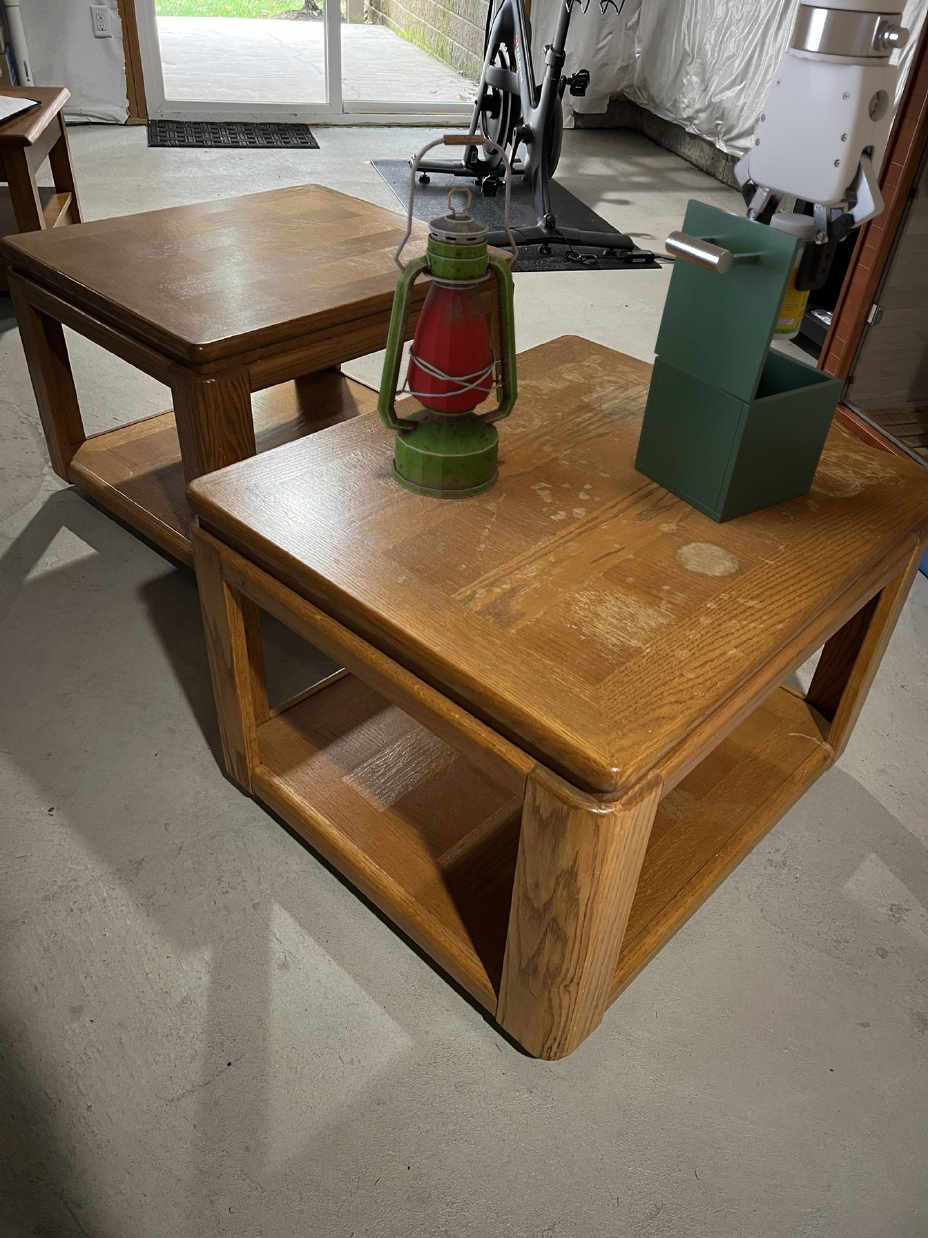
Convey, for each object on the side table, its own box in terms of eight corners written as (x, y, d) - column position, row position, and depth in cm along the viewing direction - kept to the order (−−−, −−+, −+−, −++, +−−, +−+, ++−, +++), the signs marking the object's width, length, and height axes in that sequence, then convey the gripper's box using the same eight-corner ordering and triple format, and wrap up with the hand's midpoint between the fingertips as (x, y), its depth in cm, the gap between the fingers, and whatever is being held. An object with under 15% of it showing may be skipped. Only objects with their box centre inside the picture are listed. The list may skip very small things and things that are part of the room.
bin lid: (693, 198, 80) (646, 200, 77) (803, 237, 72) (755, 240, 69) (658, 352, 88) (614, 358, 85) (753, 401, 80) (709, 410, 77)
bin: (721, 442, 101) (748, 336, 94) (809, 492, 93) (845, 380, 86) (633, 467, 95) (655, 356, 88) (719, 523, 87) (750, 406, 80)
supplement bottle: (804, 343, 83) (836, 229, 77) (743, 339, 83) (771, 224, 77) (789, 322, 87) (819, 212, 81) (732, 318, 87) (758, 207, 81)
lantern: (492, 440, 98) (520, 121, 80) (530, 490, 90) (570, 148, 72) (363, 453, 94) (361, 120, 76) (390, 506, 86) (396, 148, 68)
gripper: (972, 52, 67) (889, 302, 78) (790, 24, 79) (739, 247, 90) (908, 52, 64) (830, 315, 75) (727, 23, 75) (682, 255, 86)
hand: (781, 275), depth 82 cm, fingers closed on supplement bottle, 5 cm apart
